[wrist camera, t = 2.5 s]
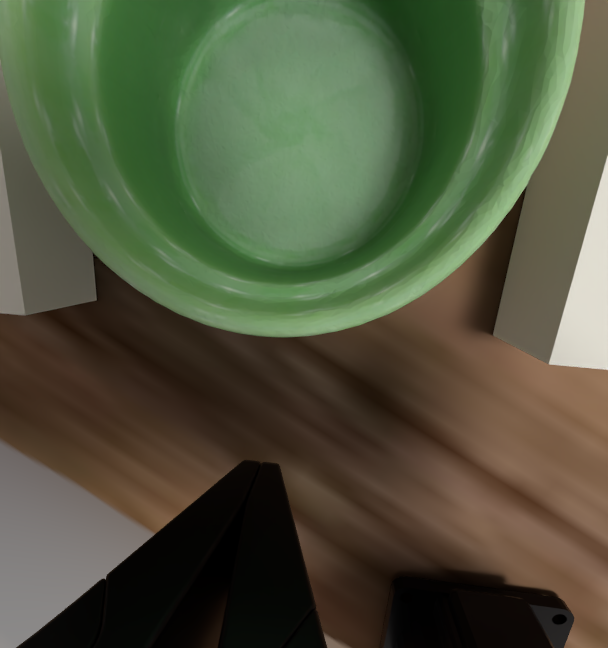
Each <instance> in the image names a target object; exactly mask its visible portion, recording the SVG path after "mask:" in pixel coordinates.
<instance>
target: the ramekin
mask: <svg viewBox="0 0 608 648" xmlns="http://www.w3.org/2000/svg"><path fill="white" fill-rule="evenodd" d="M584 6H585V0H0V61H1V66H2V71H3V76H4V81H5V85H6V89H7V93H8V98H9V101H10V104H11V108H12V111H13V114H14V117H15V120H16V124H17V126H18V129H19V131H20V134H21V137H22V140H23V144H24V146H25V149H26V151H27V153H28V155H29V157H30V160H31V162H32V164H33V166H34V168H35V170H36V172H37V174H38V176H39V177H40V179H41V181H42V183H43V185H44V187H45V189H46V190H47V192H48V193H49V195H50V197H51V198H52V200H53V201H54V203H55V204H56V206H57V207H58V209H59V211H60V212H61V214H62V215H63V217H64V218H65V219H66V220H67V222H68V223H69V224H70V226H71V227H72V228H73V230H74V231H75V232H76V233H77V235H78V236H79V237H80V238H81V239H82V241H83V242H84V243H85V244H86V245H87V246H88V247H89V248H90V250H91V251H92V252H93V253H94V254H95V255H96V256H97V257H98V258H99V259H100V260H101V261H102V262H103V263H104V264H105V265H106V266H108V267H109V268H110V269H111V270H112V271H113V272H115V273H116V274H117V275H118V276H119V277H121V278H122V279H123V280H125V281H126V282H127V283H128V284H130V285H131V286H132V287H134V288H135V289H137V290H138V291H140V292H141V293H143V294H144V295H146V296H148V297H149V298H151V299H152V300H153V301H155V302H157V303H158V304H160V305H162V306H164V307H166V308H168V309H170V310H172V311H174V312H175V313H177V314H180V315H182V316H185V317H187V318H190V319H192V320H195V321H197V322H199V323H202V324H205V325H208V326H212V327H215V328H219V329H223V330H227V331H231V332H235V333H240V334H246V335H254V336H264V337H300V336H313V335H319V334H324V333H330V332H337V331H340V330H344V329H347V328H351V327H355V326H359V325H362V324H364V323H367V322H369V321H372V320H375V319H377V318H380V317H382V316H385V315H387V314H389V313H391V312H393V311H395V310H397V309H399V308H401V307H403V306H405V305H406V304H408V303H410V302H412V301H413V300H415V299H417V298H419V297H420V296H422V295H423V294H425V293H426V292H428V291H429V290H430V289H432V288H433V287H435V286H436V285H438V284H439V283H440V282H442V281H443V280H444V279H445V278H446V277H448V276H449V275H450V274H451V273H452V272H454V271H455V270H456V269H457V268H458V267H459V266H461V265H462V264H463V263H464V262H465V261H466V260H467V259H468V258H469V257H470V256H471V255H472V254H473V253H474V252H475V251H476V250H477V249H478V248H479V247H480V246H481V245H482V244H483V243H484V242H485V241H486V239H487V238H488V237H489V236H490V235H491V234H492V233H493V231H494V230H495V229H496V228H497V227H498V225H499V224H500V223H501V221H502V220H503V219H504V217H505V216H506V215H507V213H508V212H509V211H510V210H511V209H512V207H513V206H514V204H515V202H516V201H517V199H518V198H519V196H520V195H521V193H522V192H523V190H524V189H525V187H526V186H527V184H528V182H529V180H530V178H531V175H532V173H533V172H534V171H535V169H536V168H537V166H538V164H539V162H540V160H541V158H542V156H543V154H544V152H545V150H546V148H547V146H548V144H549V141H550V139H551V136H552V134H553V132H554V129H555V127H556V124H557V121H558V119H559V116H560V113H561V110H562V107H563V104H564V101H565V98H566V95H567V92H568V89H569V86H570V83H571V80H572V75H573V71H574V66H575V62H576V57H577V53H578V47H579V41H580V35H581V29H582V23H583V16H584Z"/></svg>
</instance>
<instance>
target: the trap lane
mask: <svg viewBox="0 0 608 648" xmlns="http://www.w3.org/2000/svg"><path fill="white" fill-rule="evenodd" d="M96 300H97V296H96V285H95V274H94V263H93V252H92V251H91V250H90V248H89V247H88V246H87V245H86V244H85V243H84V242H83V241H82V239H81V238H80V237H79V236H78V235H77V233H76V232H75V231H74V230H73V228H72V227H71V226H70V224H69V223H68V222H67V220H66V219H65V218H64V217H63V215H62V214H61V212H60V211H59V209H58V207H57V206H56V204H55V203H54V201H53V200H52V198H51V197H50V195H49V193H48V192H47V190H46V189H45V187H44V185H43V183H42V181H41V179H40V177H39V176H38V174H37V172H36V170H35V168H34V166H33V164H32V162H31V160H30V157H29V155H28V153H27V151H26V149H25V146H24V144H23V140H22V137H21V134H20V131H19V129H18V126H17V124H16V120H15V117H14V114H13V111H12V108H11V104H10V101H9V98H8V93H7V89H6V85H5V81H4V76H3V71H2V66H1V61H0V313H4V314H15V315H30V314H35V313H39V312H44V311H49V310H54V309H58V308H63V307H68V306H73V305H77V304H82V303H87V302H91V301H96ZM493 336H495V337H497V338H499V339H501V340H503V341H504V342H506V343H508V344H510V345H512V346H514V347H516V348H518V349H520V350H522V351H524V352H526V353H528V354H530V355H532V356H534V357H536V358H538V359H539V360H541V361H543V362H545V363H547V364H551V365H562V366H573V367H583V368H594V369H605V370H608V0H585V6H584V16H583V23H582V29H581V35H580V41H579V47H578V53H577V57H576V62H575V66H574V71H573V75H572V80H571V83H570V86H569V89H568V92H567V95H566V98H565V101H564V104H563V107H562V110H561V113H560V116H559V119H558V121H557V124H556V127H555V129H554V132H553V134H552V136H551V139H550V141H549V144H548V146H547V148H546V150H545V152H544V154H543V156H542V158H541V160H540V162H539V164H538V166H537V168H536V169H535V171H534V172H533V173H532V175H531V178H530V180H529V182H528V184H527V188H526V193H525V197H524V201H523V206H522V210H521V214H520V219H519V223H518V227H517V232H516V236H515V241H514V245H513V249H512V254H511V258H510V262H509V267H508V271H507V275H506V280H505V284H504V288H503V293H502V297H501V302H500V306H499V310H498V315H497V319H496V323H495V328H494V332H493Z"/></svg>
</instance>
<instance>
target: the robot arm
mask: <svg viewBox="0 0 608 648" xmlns="http://www.w3.org/2000/svg"><path fill="white" fill-rule="evenodd" d="M573 622H574V616H573V614H572V613H571V611H570V610H569V608H568V607H567V605H566V604H565V602H564V601H563V600H562V599H560V598H557V597H551V596H544V595H536V594H529V593H522V592H515V591H507V590H500V589H493V588H485V587H478V586H471V585H464V584H456V583H449V582H442V581H434V580H427V579H420V578H413V577H399V578H396V579H395V580H394V581H393V582H392V584H391V589H390V594H389V600H388V605H387V611H386V616H385V622H384V627H383V632H382V638H381V643H380V648H564V645H565V643H566V640H567V638H568V635H569V633H570V630H571V627H572V625H573ZM16 648H327V645H326V642H325V638H324V634H323V630H322V627H321V623H320V619H319V615H318V612H317V611H316V604H315V601H314V597H313V593H312V589H311V585H310V581H309V577H308V573H307V570H306V566H305V562H304V558H303V554H302V550H301V546H300V542H299V539H298V535H297V531H296V527H295V523H294V519H293V515H292V511H291V508H290V504H289V500H288V496H287V492H286V488H285V484H284V480H283V477H282V473H281V469H280V466H279V464H277V463H269V462H263V463H262V464H261V463H260V462H259V461H252V460H244V461H242V462H241V463H240V464H238V465H237V466H236V467H235V468H234V469H232V470H231V471H230V472H229V473H228V474H227V475H225V476H224V477H223V478H222V479H221V480H219V481H218V482H217V483H216V484H215V485H213V486H212V487H211V488H210V489H209V490H207V491H206V492H205V493H204V494H203V495H201V496H200V497H199V498H198V499H197V500H196V501H194V502H193V503H192V504H191V505H190V506H188V507H187V508H186V509H185V510H184V511H182V512H181V513H180V514H179V515H178V516H176V517H175V518H174V519H173V520H172V521H170V522H169V523H168V524H167V525H166V526H164V527H163V528H162V529H161V530H160V531H159V532H157V533H156V534H155V535H154V536H153V537H151V538H150V539H149V540H148V541H147V542H145V543H144V544H143V545H142V546H141V547H139V548H138V549H137V550H136V551H135V552H133V553H132V554H131V555H130V556H129V557H128V558H126V559H125V560H124V561H123V562H122V563H120V564H119V565H118V566H117V567H116V568H114V569H113V570H112V571H111V572H110V573H109V574H107V576H106V580H105V579H101V580H100V581H99V582H97V583H96V584H95V585H94V586H93V587H91V588H90V589H89V590H88V591H87V592H85V593H84V594H83V595H82V596H81V597H80V598H78V599H77V600H76V601H75V602H73V603H72V604H71V605H70V606H68V607H67V608H66V609H65V610H64V611H62V612H61V613H60V614H58V615H57V616H56V617H55V618H54V619H52V620H51V621H50V622H49V623H47V624H46V625H45V626H44V627H42V628H41V629H40V630H39V631H37V632H36V633H35V634H34V635H32V636H31V637H30V638H28V639H27V640H26V641H24V642H23V643H22V644H20V645H19V646H18V647H16Z"/></svg>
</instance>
